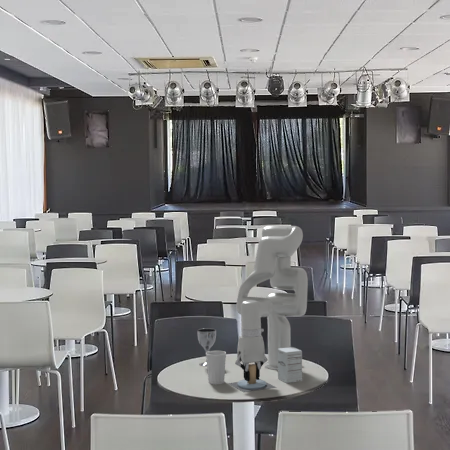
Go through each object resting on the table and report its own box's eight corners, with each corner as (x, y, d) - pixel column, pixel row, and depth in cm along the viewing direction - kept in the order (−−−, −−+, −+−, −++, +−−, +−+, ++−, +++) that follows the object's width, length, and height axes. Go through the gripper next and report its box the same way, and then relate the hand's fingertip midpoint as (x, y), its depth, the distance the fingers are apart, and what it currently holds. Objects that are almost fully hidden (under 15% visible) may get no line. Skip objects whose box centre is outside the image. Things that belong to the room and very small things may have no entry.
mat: (259, 379, 310) (259, 378, 310) (276, 388, 297) (276, 387, 297) (227, 384, 304) (227, 383, 304) (243, 393, 291) (243, 392, 291)
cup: (224, 386, 302) (223, 355, 301) (204, 385, 303) (203, 354, 303) (228, 380, 310) (227, 350, 309) (208, 379, 311) (208, 350, 310)
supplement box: (277, 379, 310) (277, 348, 309) (293, 377, 313) (293, 346, 312) (286, 384, 303) (285, 352, 302) (302, 381, 306) (302, 350, 305)
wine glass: (205, 361, 342) (205, 327, 341) (220, 363, 337) (219, 329, 336) (194, 364, 336) (193, 330, 335) (209, 367, 331) (208, 332, 330)
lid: (257, 380, 308) (257, 360, 307) (271, 386, 298) (270, 366, 298) (232, 383, 303) (232, 363, 303) (245, 390, 293) (245, 369, 293)
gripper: (265, 329, 306) (266, 374, 307) (227, 333, 299) (228, 380, 300) (274, 332, 299) (275, 379, 301) (236, 336, 292) (236, 384, 294)
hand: (251, 379), depth 301 cm, fingers closed on lid, 3 cm apart
